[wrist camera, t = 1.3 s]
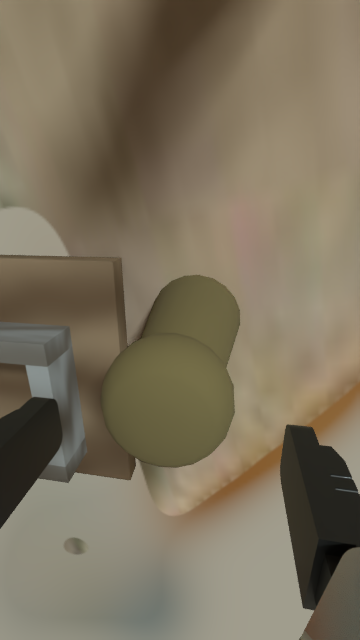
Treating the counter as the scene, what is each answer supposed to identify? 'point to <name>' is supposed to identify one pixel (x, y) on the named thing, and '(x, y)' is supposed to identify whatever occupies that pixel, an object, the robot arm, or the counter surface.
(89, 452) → the holder board
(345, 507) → the robot arm
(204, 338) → the olive knobbed cylinder
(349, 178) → the counter surface
